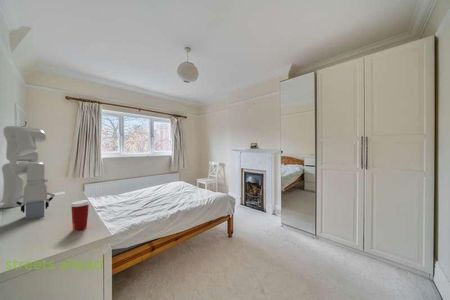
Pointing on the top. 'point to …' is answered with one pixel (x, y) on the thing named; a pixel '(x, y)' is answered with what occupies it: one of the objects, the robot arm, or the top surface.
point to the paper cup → (79, 214)
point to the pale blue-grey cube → (34, 209)
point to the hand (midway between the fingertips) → (35, 210)
